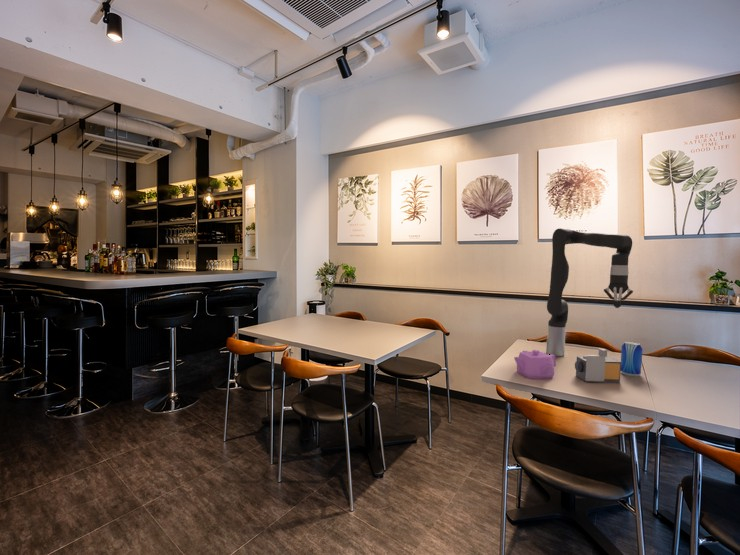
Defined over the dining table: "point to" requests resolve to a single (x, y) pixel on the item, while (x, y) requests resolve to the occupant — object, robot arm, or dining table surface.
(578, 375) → the camera body
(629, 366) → the beer can
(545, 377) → the teakettle
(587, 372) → the side door
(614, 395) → the dining table surface
